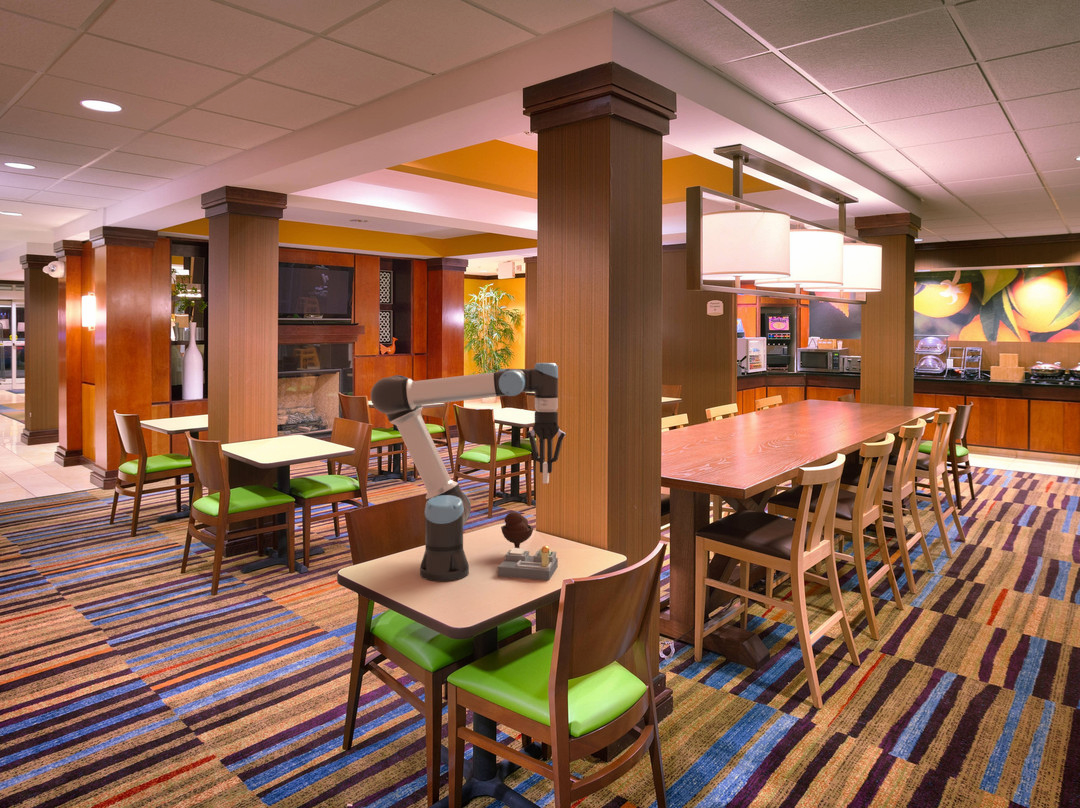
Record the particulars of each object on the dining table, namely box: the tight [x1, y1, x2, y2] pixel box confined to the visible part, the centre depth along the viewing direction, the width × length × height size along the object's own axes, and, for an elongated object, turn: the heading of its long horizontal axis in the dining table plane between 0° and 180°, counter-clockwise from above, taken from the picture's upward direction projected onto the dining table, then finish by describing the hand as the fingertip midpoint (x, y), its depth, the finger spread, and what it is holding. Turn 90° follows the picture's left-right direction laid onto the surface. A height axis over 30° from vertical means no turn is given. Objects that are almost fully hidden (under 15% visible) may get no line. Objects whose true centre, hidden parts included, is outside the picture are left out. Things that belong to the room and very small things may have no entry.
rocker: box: [510, 547, 525, 555], centre depth 221 cm, size 4×3×1 cm
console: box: [497, 549, 559, 581], centre depth 217 cm, size 16×13×5 cm
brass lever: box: [540, 545, 551, 567], centre depth 213 cm, size 3×3×6 cm
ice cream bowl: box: [500, 511, 534, 548], centre depth 234 cm, size 11×11×15 cm
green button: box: [538, 548, 551, 556], centre depth 219 cm, size 4×4×3 cm
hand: (545, 482), depth 225 cm, fingers closed
